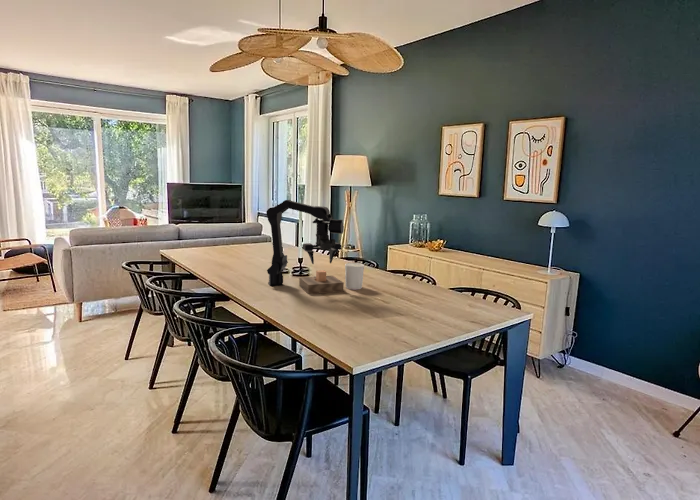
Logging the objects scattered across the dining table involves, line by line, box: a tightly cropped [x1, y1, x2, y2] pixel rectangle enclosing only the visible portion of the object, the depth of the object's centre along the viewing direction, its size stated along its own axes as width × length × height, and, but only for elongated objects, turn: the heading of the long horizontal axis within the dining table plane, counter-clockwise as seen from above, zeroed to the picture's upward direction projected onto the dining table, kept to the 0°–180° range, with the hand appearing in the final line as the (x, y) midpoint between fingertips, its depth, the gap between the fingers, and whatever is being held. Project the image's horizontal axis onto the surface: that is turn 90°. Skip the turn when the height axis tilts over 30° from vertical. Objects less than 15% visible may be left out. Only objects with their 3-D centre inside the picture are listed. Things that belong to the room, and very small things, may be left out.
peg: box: [315, 269, 327, 282], centre depth 218 cm, size 4×4×9 cm
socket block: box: [298, 275, 345, 295], centre depth 219 cm, size 18×16×4 cm
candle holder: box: [344, 262, 365, 291], centre depth 223 cm, size 10×10×12 cm
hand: (321, 263), depth 217 cm, fingers open, 9 cm apart
